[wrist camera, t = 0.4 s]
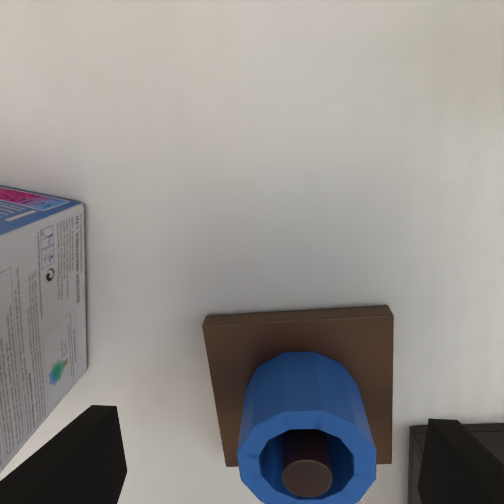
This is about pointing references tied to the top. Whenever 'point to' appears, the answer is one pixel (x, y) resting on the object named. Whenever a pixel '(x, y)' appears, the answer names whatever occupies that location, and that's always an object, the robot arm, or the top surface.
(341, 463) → the tape roll
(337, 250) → the top surface
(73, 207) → the ink cartridge box
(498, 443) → the tray
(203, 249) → the top surface
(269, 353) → the tape holder
